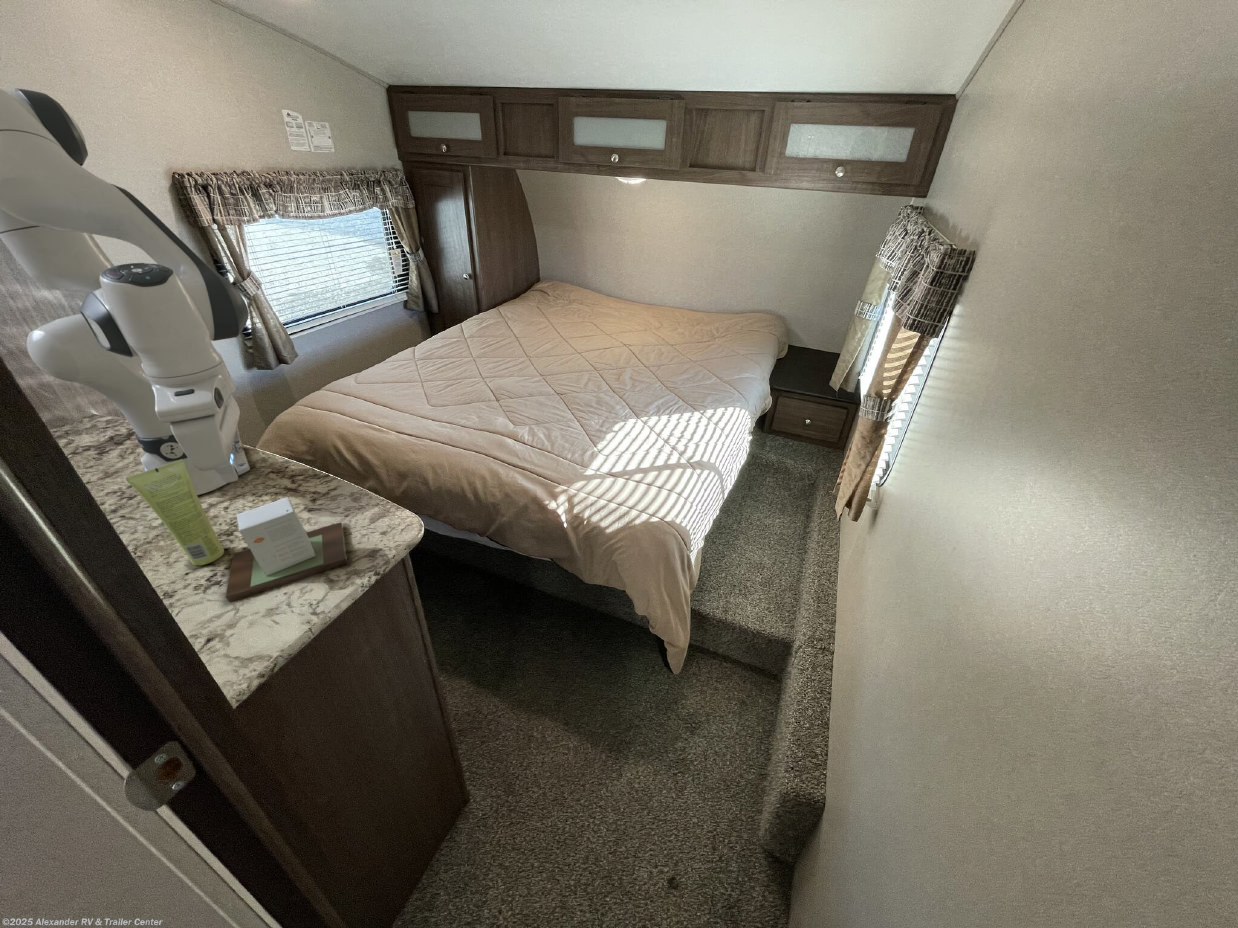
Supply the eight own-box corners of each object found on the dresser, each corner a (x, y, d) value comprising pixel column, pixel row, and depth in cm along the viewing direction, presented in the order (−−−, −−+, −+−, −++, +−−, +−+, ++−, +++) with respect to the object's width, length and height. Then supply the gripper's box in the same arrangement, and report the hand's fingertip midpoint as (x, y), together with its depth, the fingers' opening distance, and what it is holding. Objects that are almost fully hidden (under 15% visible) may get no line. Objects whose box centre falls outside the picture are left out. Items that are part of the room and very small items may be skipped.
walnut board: (235, 558, 90) (232, 553, 89) (343, 526, 97) (341, 521, 96) (228, 602, 81) (225, 596, 80) (347, 563, 88) (345, 558, 87)
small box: (310, 540, 92) (289, 495, 86) (316, 556, 88) (294, 510, 82) (260, 559, 87) (235, 513, 82) (265, 577, 84) (238, 530, 78)
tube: (206, 546, 93) (152, 459, 82) (233, 545, 93) (182, 458, 83) (185, 567, 88) (124, 477, 78) (213, 566, 88) (156, 476, 78)
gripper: (180, 365, 77) (219, 441, 85) (152, 418, 62) (202, 504, 70) (228, 358, 80) (261, 432, 87) (212, 407, 65) (254, 491, 72)
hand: (235, 465), depth 78 cm, fingers open, 8 cm apart
